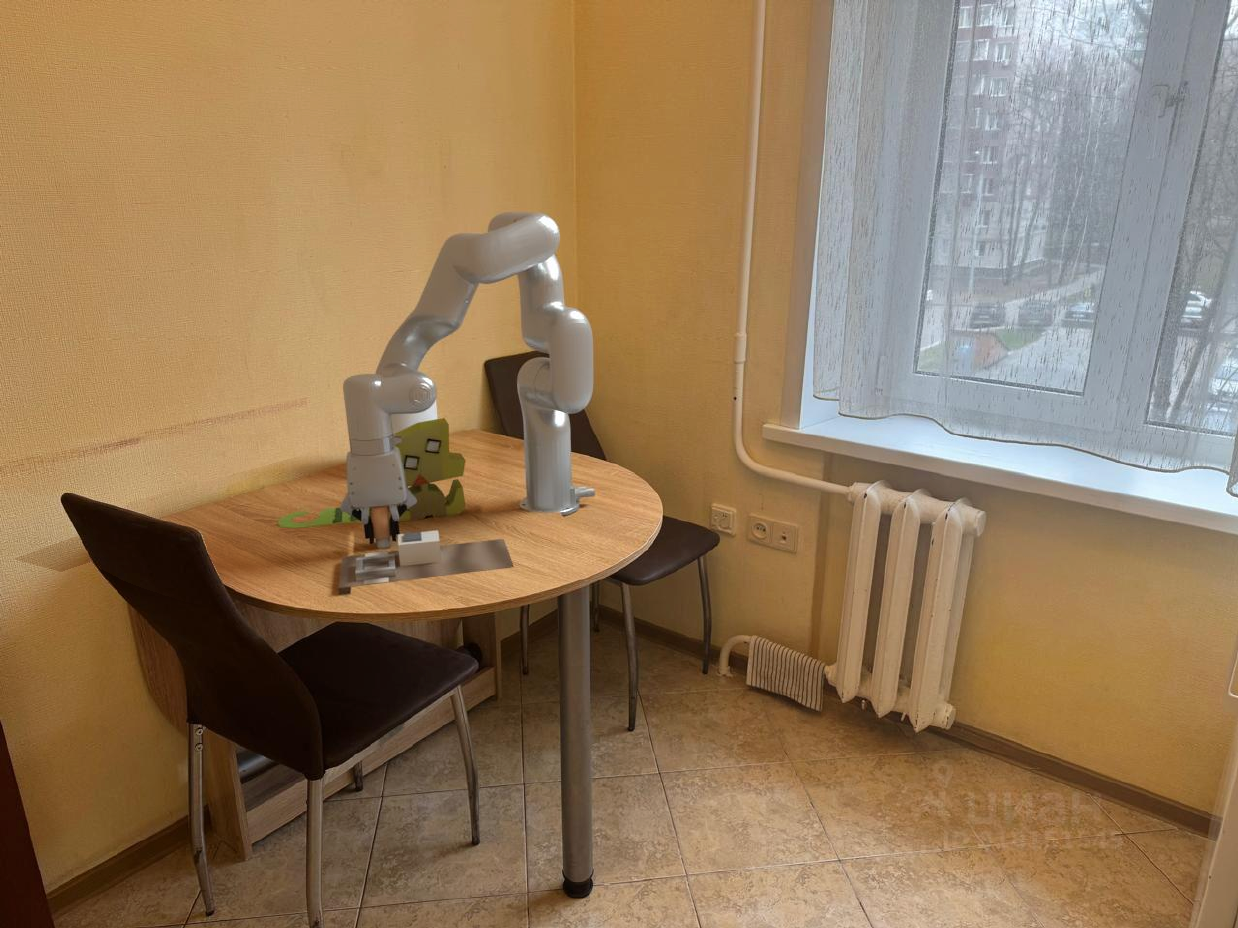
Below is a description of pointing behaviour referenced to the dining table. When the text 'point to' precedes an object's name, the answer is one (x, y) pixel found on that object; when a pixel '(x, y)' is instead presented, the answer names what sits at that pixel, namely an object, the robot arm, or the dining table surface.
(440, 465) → the toy
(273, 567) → the dining table surface
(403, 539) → the block
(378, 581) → the panel
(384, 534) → the tan rounded cylinder
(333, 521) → the door hanger
